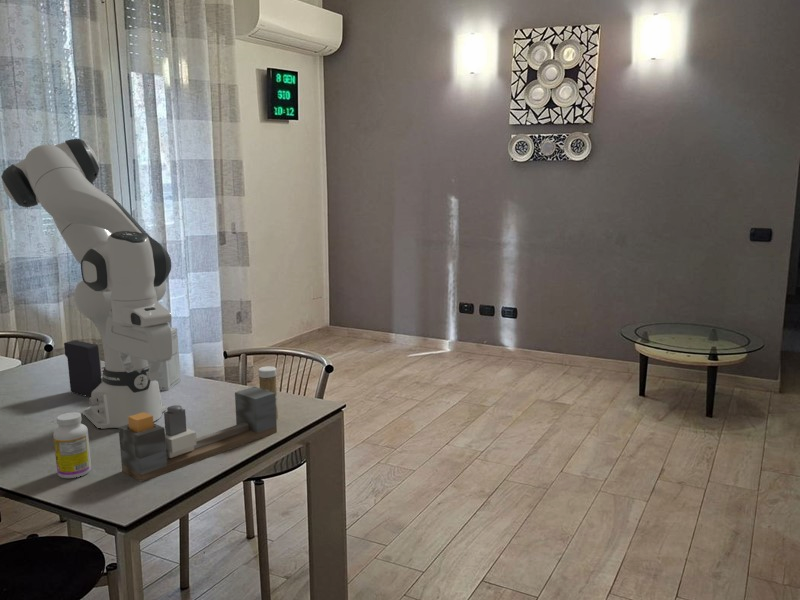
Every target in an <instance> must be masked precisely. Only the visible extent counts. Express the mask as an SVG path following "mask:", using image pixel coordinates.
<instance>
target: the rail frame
mask: <svg viewBox="0 0 800 600" xmlns="http://www.w3.org/2000/svg"><path fill="white" fill-rule="evenodd" d="M234 401H235V419H236V420H235V421H236V422H235V423H236V424H235V425H231V426H229V427H226V428H223V429H221V430H217V431H215V432H212V433H211V432H210V433H208V434H206V435H203V436H200V437H196V445H194V450H192V451H189V452H186V453H184V454H181V455H178V456H175V457H172V458H169V457H168V451H167V450H166V442H165V426H164V427H163V426H161V425H159V424H157V423H154V422H153V424H154V428H152V429H148V430H145V431H142V432H139V433H136V432H134V431H132V430H130V429H129V424H127V425H124V426H120V427H119V428H118V435H119V449H120V450H119V451H120V460H121V461H120V462H121V471H122V472H123V473H125V474H127V475H129V476H131V477H132V478H134V479H136V480H138V481H140V482H144V481H147V480H150V479H153V478H155V477H159V476H160V475H164V474H166V473H169V472H171V471H175V470H177V469H180V468H183V467H186V466H188V465H191V464H193V463H195V462H196V463H197V462H199V461H201V460H204V459H208V458H210V457H213V456H215V455H217V454H221V453H224V452H226V451H229V450H231V449H234V448H236V447H237V448H238V447H240V446H242V445H245V444H248V443H251V442H253V441H256V440H259V439H262V438H264V437H268V436H270V435H273V434H276V433H278V428H277V419H276V398H275V393H273V392H270V391H267V390H264V389H261V388H260V387H257V386H252V387H249V388H245V389H242V390H239V391H236V392H234ZM272 433H273V434H272Z"/></svg>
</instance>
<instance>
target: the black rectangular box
mask: <svg viewBox="0 0 800 600" xmlns="http://www.w3.org/2000/svg"><path fill="white" fill-rule="evenodd" d="M99 347H100V346H99V345H98V344H95V343H90V342H86V341H81V340H76V339H75V340H71V341H66V342H64V343H63V348H64V355H65V357H66V358H67V368H68V376H69V377H68V378H69V386H70V387H69V388H70V392H71V391H72V392H75V393H74V394H76V393H78V394H77V395H79V394H82V395H81V396H83V395H86V396H85V397H87V396H89V397H88V398H90V397H91V393H92V391H93V390H94V389H95V388H96V387H97V386H98V385H99V384H100V383H101V382H102V377H103V376H102V374H103V372H102V364H101V363H102V362H101V359H100V348H99ZM72 392H71V393H72Z"/></svg>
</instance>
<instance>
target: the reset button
mask: <svg viewBox="0 0 800 600" xmlns="http://www.w3.org/2000/svg"><path fill="white" fill-rule="evenodd" d="M128 420H129V429H130V430H132V431H134V432H136V433H139V432H142V431H145V430H148V429H152V428H154V424H155V423H154V422H153V416H152V415H150V414H147V413H145V412H142V413H139V414H136V415H132V416H129V417H128ZM153 423H154V424H153Z"/></svg>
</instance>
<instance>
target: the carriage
mask: <svg viewBox="0 0 800 600" xmlns="http://www.w3.org/2000/svg"><path fill="white" fill-rule="evenodd" d="M186 418H187V417H186V409H184V408H182V406H181V405H170V406H168V407H166V411H164V412H163V419H164V428H165V442H166V450H167V451H168V457H169V458H172V457H175V456H178V455H181V454H184V453H186V452H189V451H192V450H194V445H196V439H197V432H196V431H194V430H192V429H189V428H188V427H187V419H186Z"/></svg>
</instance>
